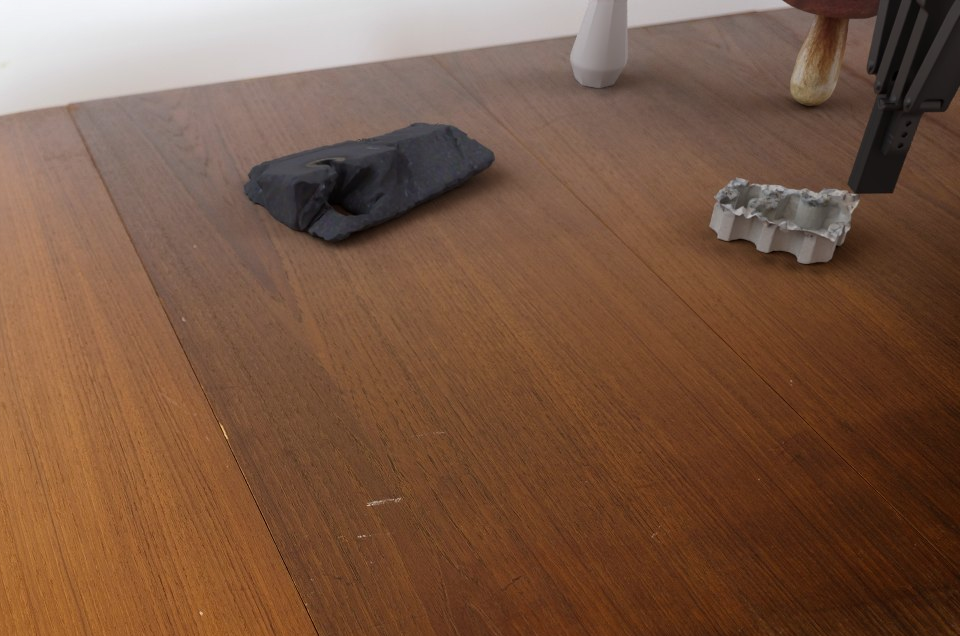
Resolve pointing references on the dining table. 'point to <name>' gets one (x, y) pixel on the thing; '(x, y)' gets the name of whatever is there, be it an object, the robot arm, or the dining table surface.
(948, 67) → the robot arm
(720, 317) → the dining table surface
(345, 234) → the dark slate chunk
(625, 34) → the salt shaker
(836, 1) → the decorative mushroom
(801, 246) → the egg carton
